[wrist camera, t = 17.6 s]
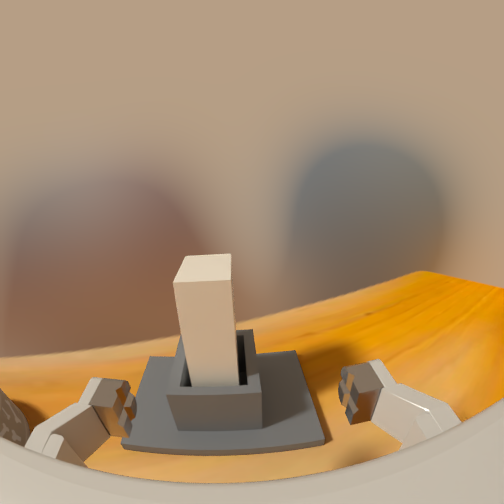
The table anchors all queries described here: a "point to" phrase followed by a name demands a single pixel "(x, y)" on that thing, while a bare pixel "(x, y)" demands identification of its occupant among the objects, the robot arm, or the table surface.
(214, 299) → the tall cream pillar block
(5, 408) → the dog bowl
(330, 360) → the table surface
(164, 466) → the table surface
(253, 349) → the socket holder
